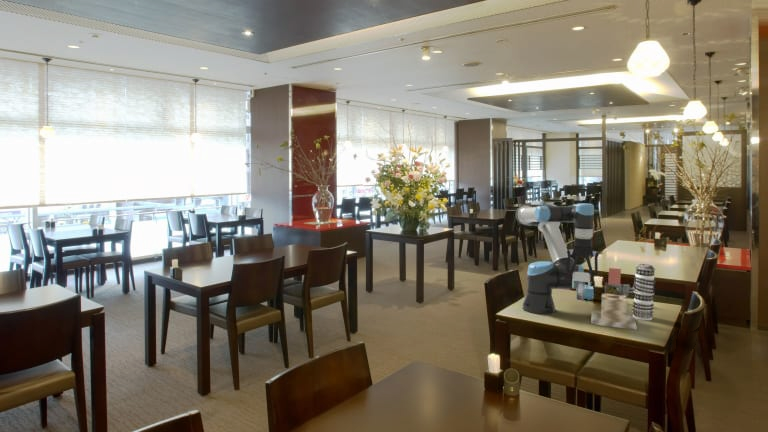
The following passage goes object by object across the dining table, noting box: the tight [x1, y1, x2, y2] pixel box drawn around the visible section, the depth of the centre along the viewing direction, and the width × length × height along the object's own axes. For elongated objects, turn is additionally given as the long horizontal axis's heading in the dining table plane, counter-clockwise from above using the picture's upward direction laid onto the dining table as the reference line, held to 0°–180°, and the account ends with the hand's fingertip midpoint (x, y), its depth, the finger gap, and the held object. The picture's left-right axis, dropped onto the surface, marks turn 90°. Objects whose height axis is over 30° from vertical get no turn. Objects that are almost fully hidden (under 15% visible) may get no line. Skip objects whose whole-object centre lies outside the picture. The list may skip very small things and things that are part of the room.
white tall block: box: [574, 271, 590, 301], centre depth 228 cm, size 6×6×12 cm
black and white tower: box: [631, 263, 657, 321], centre depth 232 cm, size 9×9×25 cm
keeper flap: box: [607, 267, 622, 288], centre depth 231 cm, size 5×8×1 cm
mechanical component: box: [614, 283, 635, 299], centre depth 256 cm, size 3×10×10 cm, turn 78°
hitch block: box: [590, 282, 637, 330], centre depth 225 cm, size 18×16×16 cm
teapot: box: [575, 284, 595, 301], centre depth 265 cm, size 12×6×8 cm, turn 67°
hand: (580, 287), depth 228 cm, fingers closed on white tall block, 6 cm apart
